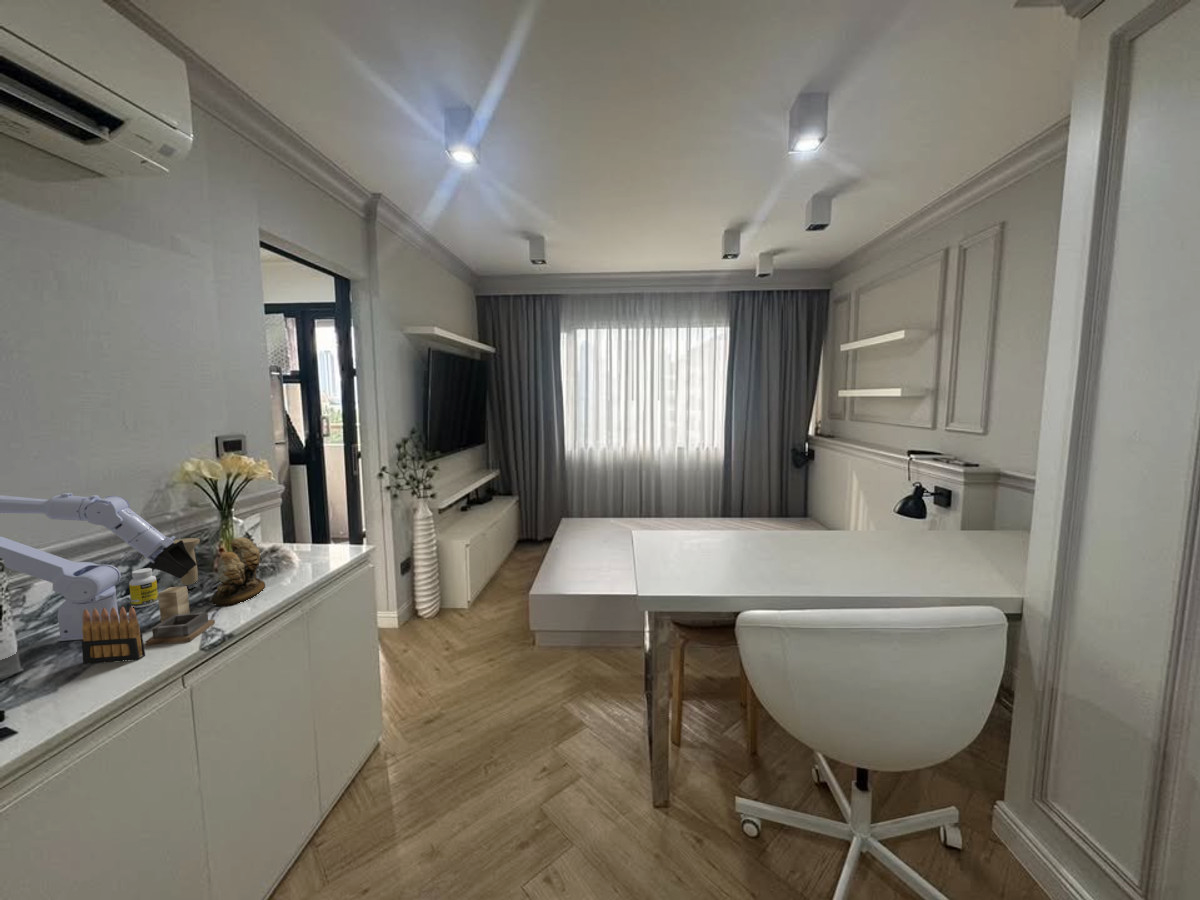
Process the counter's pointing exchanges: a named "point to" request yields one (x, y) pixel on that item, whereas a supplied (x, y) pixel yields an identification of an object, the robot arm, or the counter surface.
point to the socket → (180, 628)
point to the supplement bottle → (143, 588)
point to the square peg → (173, 602)
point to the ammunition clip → (111, 636)
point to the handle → (189, 545)
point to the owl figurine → (238, 574)
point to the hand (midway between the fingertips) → (188, 571)
